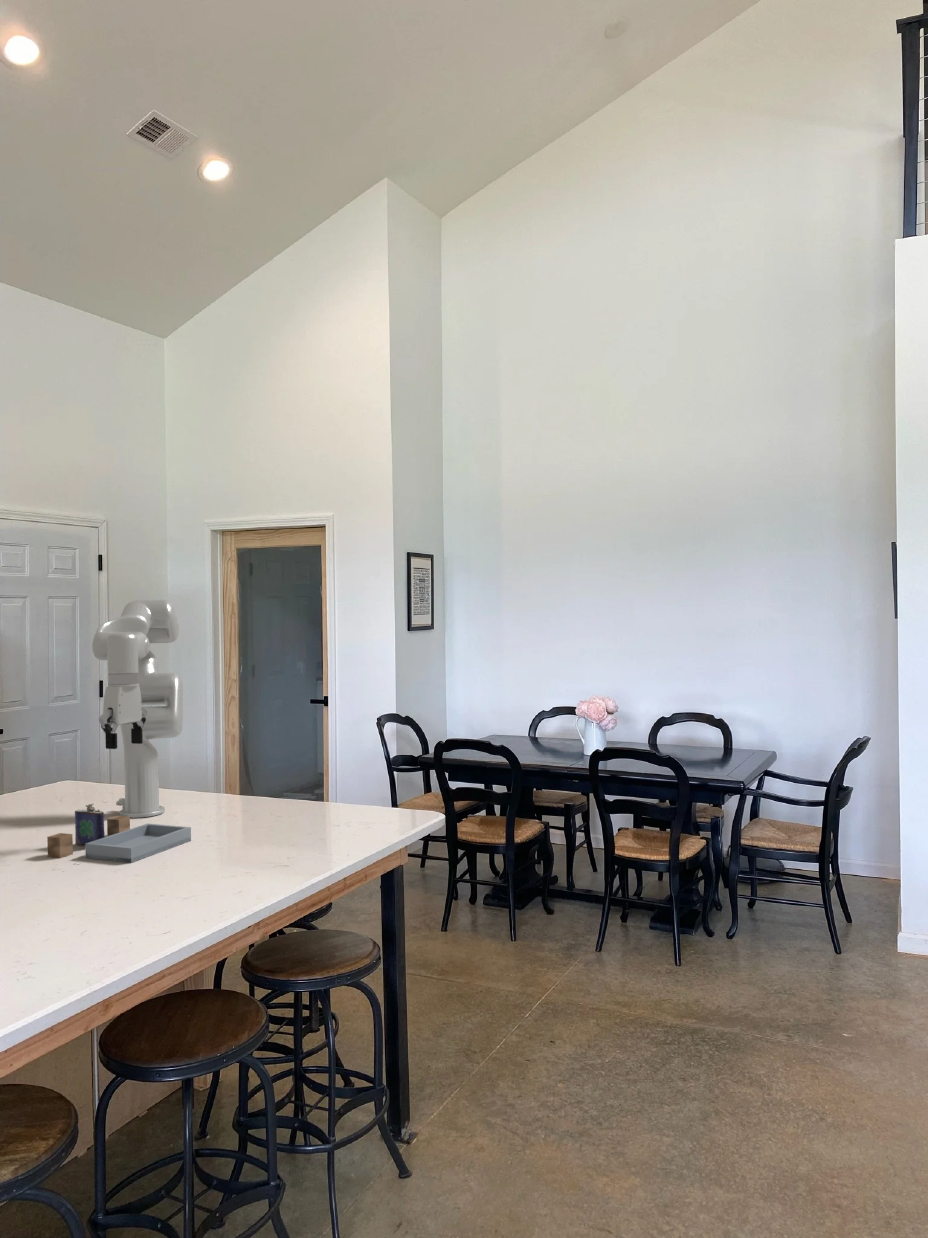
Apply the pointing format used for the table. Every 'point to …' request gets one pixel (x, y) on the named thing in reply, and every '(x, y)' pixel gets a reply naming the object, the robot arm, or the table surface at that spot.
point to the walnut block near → (60, 845)
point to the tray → (137, 843)
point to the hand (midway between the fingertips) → (124, 746)
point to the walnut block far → (117, 824)
